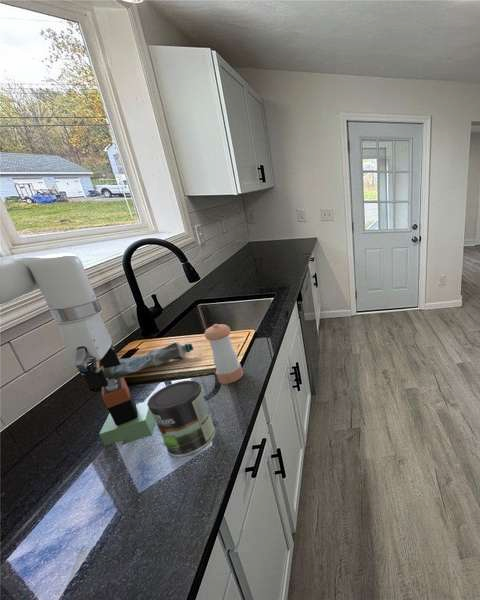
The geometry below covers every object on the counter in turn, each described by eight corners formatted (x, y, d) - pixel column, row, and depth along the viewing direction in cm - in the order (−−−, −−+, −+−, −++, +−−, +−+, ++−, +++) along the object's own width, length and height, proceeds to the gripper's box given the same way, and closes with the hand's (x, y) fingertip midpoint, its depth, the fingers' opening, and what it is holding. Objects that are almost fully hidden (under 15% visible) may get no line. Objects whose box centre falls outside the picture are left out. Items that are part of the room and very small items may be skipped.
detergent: (104, 390, 99) (195, 362, 110) (94, 370, 96) (188, 344, 108) (113, 373, 110) (195, 349, 121) (105, 355, 107) (189, 332, 119)
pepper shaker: (228, 370, 106) (212, 319, 99) (247, 371, 105) (233, 319, 98) (213, 383, 99) (195, 329, 92) (234, 384, 98) (218, 330, 91)
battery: (116, 427, 76) (99, 393, 72) (115, 413, 81) (99, 381, 77) (138, 417, 79) (123, 385, 75) (136, 405, 83) (122, 373, 80)
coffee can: (188, 462, 71) (168, 413, 66) (157, 451, 75) (136, 403, 69) (225, 429, 80) (210, 384, 75) (196, 421, 84) (180, 377, 78)
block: (107, 450, 76) (98, 434, 74) (117, 426, 83) (110, 411, 82) (152, 435, 80) (145, 419, 78) (158, 413, 87) (152, 399, 85)
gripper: (70, 302, 74) (98, 363, 81) (33, 330, 60) (71, 402, 66) (110, 296, 78) (134, 355, 84) (85, 321, 63) (115, 390, 69)
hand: (106, 376), depth 75 cm, fingers open, 9 cm apart
